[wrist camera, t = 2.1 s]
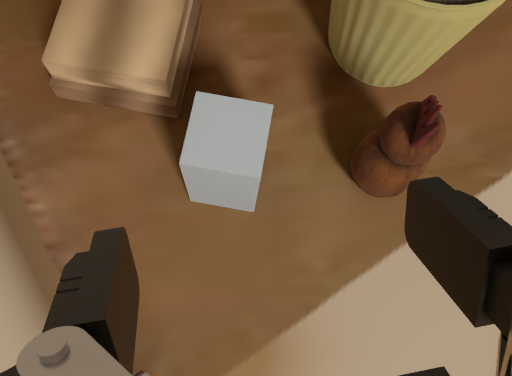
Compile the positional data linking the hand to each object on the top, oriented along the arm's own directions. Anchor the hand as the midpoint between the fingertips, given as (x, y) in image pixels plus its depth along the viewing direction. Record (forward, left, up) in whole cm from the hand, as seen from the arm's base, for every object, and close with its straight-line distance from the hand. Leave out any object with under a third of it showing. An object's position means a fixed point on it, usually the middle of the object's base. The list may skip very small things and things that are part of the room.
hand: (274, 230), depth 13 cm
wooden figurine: (-11, -14, -29) cm, 34 cm away
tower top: (+16, -22, -26) cm, 38 cm away
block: (+3, -11, -29) cm, 31 cm away
